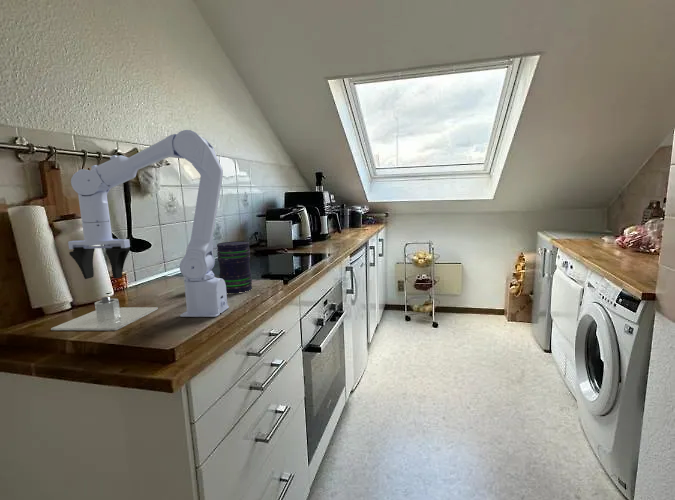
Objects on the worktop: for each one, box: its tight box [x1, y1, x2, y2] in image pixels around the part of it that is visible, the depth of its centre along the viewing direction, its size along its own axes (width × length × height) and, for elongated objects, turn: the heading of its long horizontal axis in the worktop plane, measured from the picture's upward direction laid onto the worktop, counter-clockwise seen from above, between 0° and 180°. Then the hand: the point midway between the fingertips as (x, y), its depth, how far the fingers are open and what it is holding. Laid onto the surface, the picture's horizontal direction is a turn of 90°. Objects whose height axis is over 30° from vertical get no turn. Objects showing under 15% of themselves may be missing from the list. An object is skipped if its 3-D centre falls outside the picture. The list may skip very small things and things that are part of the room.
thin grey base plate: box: [50, 296, 158, 332], centre depth 91 cm, size 16×16×6 cm
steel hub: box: [94, 298, 121, 320], centre depth 91 cm, size 5×5×4 cm
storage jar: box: [216, 240, 253, 294], centre depth 116 cm, size 10×10×15 cm
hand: (103, 277), depth 90 cm, fingers open, 7 cm apart
